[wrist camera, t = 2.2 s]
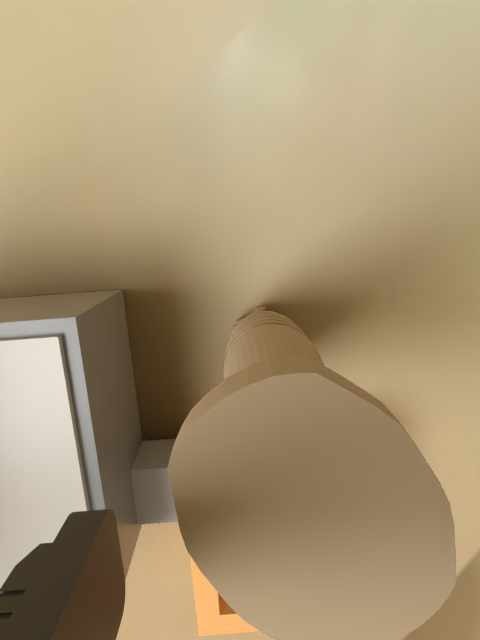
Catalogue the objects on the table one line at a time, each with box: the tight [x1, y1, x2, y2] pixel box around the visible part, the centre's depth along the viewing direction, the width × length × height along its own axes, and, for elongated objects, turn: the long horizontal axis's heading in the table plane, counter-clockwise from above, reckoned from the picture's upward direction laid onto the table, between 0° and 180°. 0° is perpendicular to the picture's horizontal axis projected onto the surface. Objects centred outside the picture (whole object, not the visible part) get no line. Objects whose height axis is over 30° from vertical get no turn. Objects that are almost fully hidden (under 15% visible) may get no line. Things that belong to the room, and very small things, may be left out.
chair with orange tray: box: [0, 289, 259, 636], centre depth 16 cm, size 18×22×17 cm
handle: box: [168, 307, 456, 640], centre depth 16 cm, size 5×6×15 cm
